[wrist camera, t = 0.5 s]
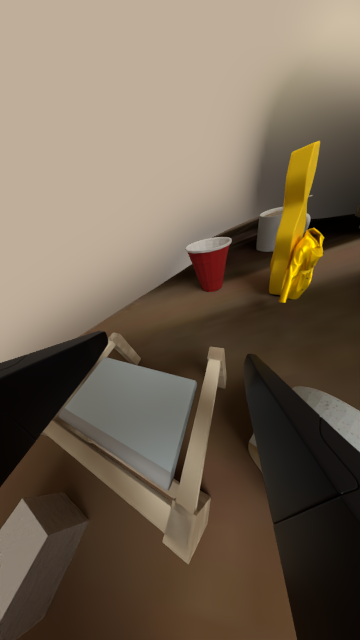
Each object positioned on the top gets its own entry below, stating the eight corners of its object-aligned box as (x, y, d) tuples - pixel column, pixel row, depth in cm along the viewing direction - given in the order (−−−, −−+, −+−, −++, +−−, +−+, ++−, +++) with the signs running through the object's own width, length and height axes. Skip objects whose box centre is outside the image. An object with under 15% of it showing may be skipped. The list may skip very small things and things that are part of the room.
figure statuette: (290, 320, 25) (367, 122, 11) (248, 307, 30) (261, 161, 16) (319, 273, 32) (390, 114, 18) (280, 269, 37) (310, 143, 23)
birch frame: (207, 523, 12) (188, 564, 7) (85, 438, 20) (32, 428, 15) (226, 378, 21) (223, 348, 16) (135, 357, 29) (112, 332, 23)
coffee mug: (251, 251, 50) (254, 218, 43) (263, 240, 54) (267, 209, 47) (296, 252, 41) (308, 211, 35) (306, 239, 45) (319, 200, 39)
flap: (170, 490, 10) (164, 492, 9) (65, 419, 16) (56, 417, 15) (197, 384, 15) (195, 380, 14) (108, 360, 20) (103, 356, 20)
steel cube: (45, 617, 11) (-32, 677, 8) (20, 567, 14) (-49, 599, 10) (89, 520, 15) (47, 535, 11) (64, 492, 17) (22, 498, 13)
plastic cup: (239, 279, 39) (241, 231, 31) (217, 301, 35) (212, 252, 27) (208, 274, 46) (203, 234, 38) (187, 291, 42) (176, 250, 34)
